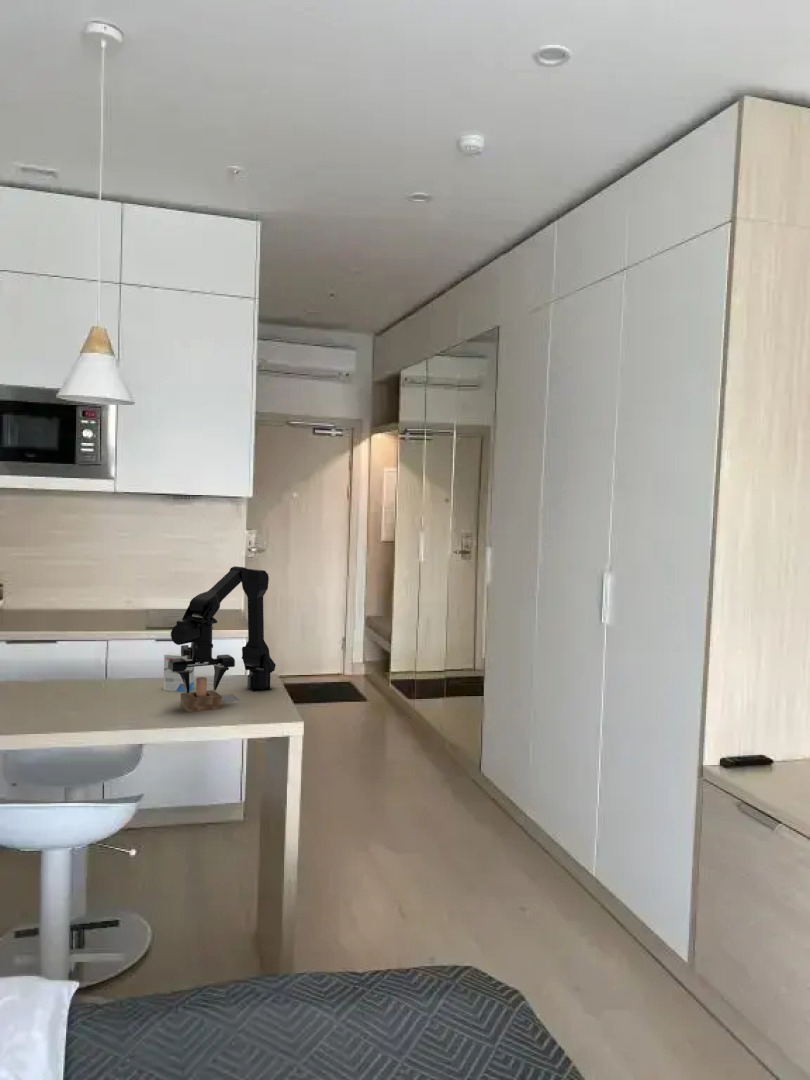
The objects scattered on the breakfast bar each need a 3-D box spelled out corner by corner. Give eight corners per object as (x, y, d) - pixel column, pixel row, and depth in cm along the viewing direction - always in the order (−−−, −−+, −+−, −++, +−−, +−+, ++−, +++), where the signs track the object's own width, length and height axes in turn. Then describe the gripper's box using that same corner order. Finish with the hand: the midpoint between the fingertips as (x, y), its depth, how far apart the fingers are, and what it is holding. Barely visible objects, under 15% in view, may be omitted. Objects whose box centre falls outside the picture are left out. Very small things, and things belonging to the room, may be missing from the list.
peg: (204, 706, 252) (205, 676, 251) (207, 708, 249) (208, 678, 249) (194, 707, 250) (195, 677, 250) (197, 709, 248) (198, 679, 247)
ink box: (194, 688, 272) (195, 653, 271) (189, 692, 267) (189, 656, 266) (169, 687, 273) (169, 651, 272) (163, 691, 268) (163, 654, 267)
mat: (232, 694, 266) (232, 693, 266) (240, 700, 259) (240, 699, 259) (207, 697, 262) (207, 696, 262) (215, 703, 255) (215, 702, 255)
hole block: (213, 702, 256) (213, 690, 255) (221, 709, 249) (221, 696, 249) (180, 706, 251) (180, 693, 250) (188, 713, 244) (188, 699, 243)
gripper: (223, 633, 260) (222, 682, 261) (163, 636, 250) (162, 688, 251) (236, 639, 250) (234, 690, 252) (173, 643, 241) (172, 697, 242)
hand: (201, 691), depth 249 cm, fingers open, 8 cm apart
